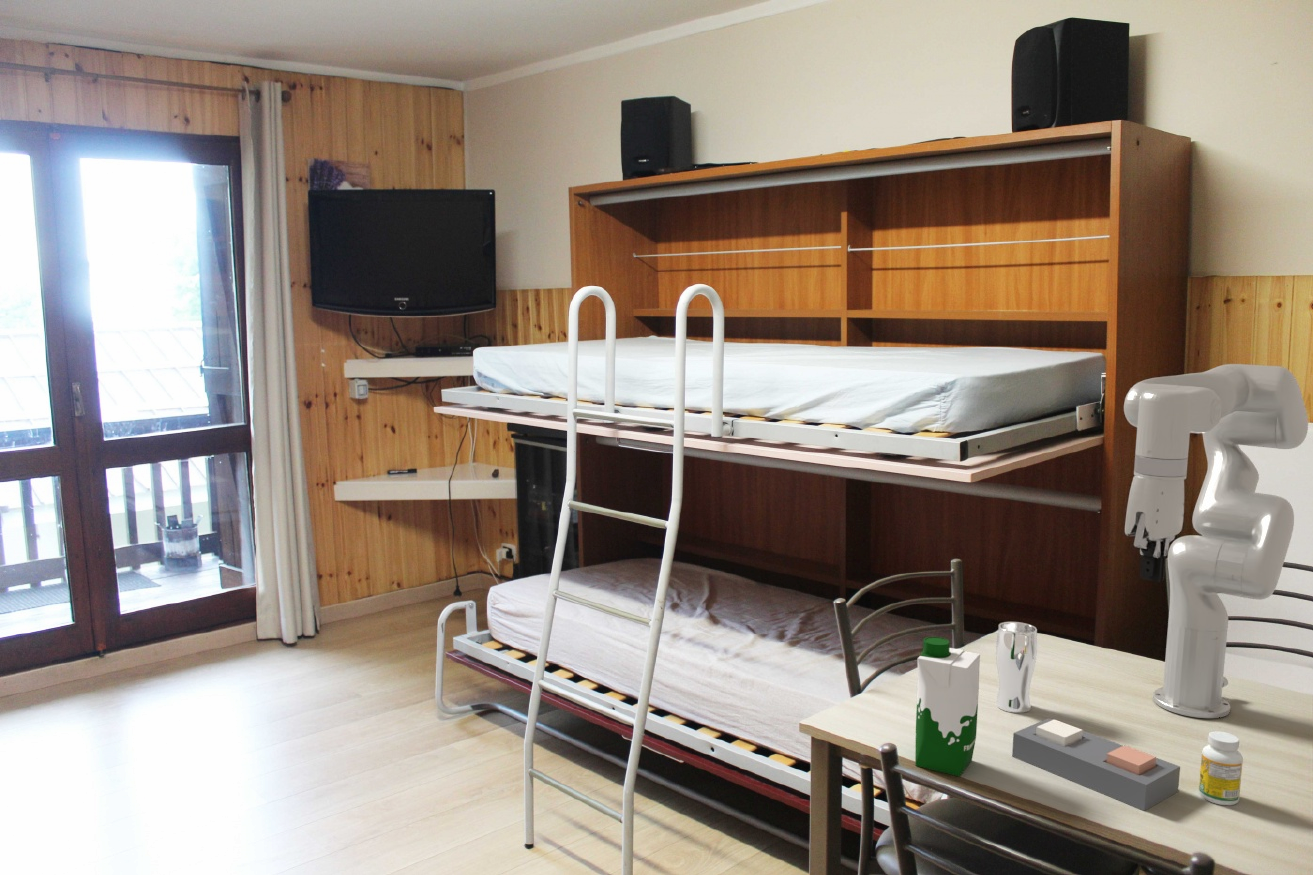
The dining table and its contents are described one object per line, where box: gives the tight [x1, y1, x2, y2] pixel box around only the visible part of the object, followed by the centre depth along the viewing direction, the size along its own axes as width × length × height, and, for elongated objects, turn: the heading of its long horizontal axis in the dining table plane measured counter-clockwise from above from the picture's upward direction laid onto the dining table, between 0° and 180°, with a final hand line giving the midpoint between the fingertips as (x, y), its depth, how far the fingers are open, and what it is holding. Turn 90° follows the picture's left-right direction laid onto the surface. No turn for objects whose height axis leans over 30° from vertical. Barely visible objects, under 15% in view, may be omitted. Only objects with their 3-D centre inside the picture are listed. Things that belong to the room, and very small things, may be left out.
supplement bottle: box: [1198, 730, 1244, 806], centre depth 154 cm, size 5×5×10 cm
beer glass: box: [995, 621, 1038, 714], centre depth 187 cm, size 7×7×15 cm
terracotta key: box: [1106, 744, 1157, 776], centre depth 156 cm, size 5×5×4 cm
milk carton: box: [914, 636, 981, 778], centre depth 163 cm, size 9×9×20 cm
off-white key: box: [1036, 719, 1083, 747], centre depth 166 cm, size 5×5×4 cm
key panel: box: [1011, 718, 1181, 812], centre depth 161 cm, size 10×22×4 cm, turn 37°
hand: (1151, 579), depth 166 cm, fingers closed
